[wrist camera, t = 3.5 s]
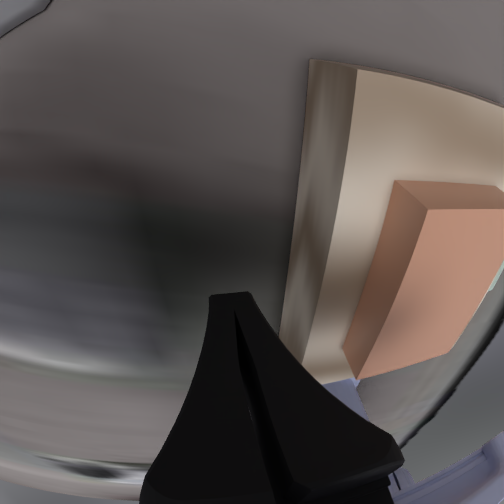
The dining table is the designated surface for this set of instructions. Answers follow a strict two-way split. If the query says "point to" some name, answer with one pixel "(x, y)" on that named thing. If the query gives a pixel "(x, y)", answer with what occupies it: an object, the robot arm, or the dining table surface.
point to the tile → (426, 273)
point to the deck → (369, 188)
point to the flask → (18, 12)
